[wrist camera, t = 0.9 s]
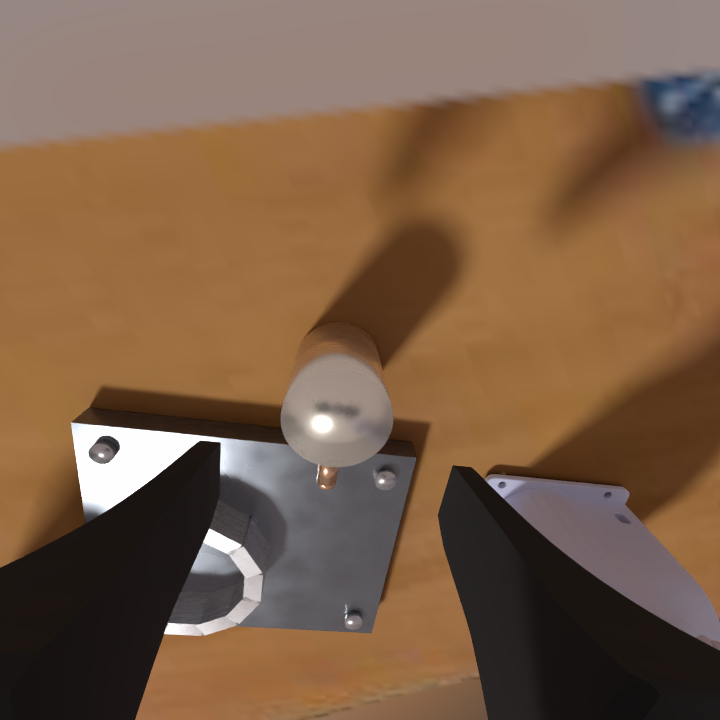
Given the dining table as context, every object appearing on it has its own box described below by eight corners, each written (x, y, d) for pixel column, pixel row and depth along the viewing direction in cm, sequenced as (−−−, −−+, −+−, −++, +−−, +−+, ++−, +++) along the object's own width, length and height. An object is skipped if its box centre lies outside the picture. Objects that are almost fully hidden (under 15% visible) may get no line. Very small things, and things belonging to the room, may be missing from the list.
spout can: (385, 328, 20) (403, 377, 15) (366, 431, 22) (374, 507, 17) (300, 316, 20) (285, 363, 14) (289, 423, 22) (273, 499, 16)
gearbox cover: (411, 442, 23) (423, 482, 20) (369, 611, 28) (373, 664, 25) (88, 407, 21) (43, 445, 18) (112, 597, 27) (80, 652, 23)
